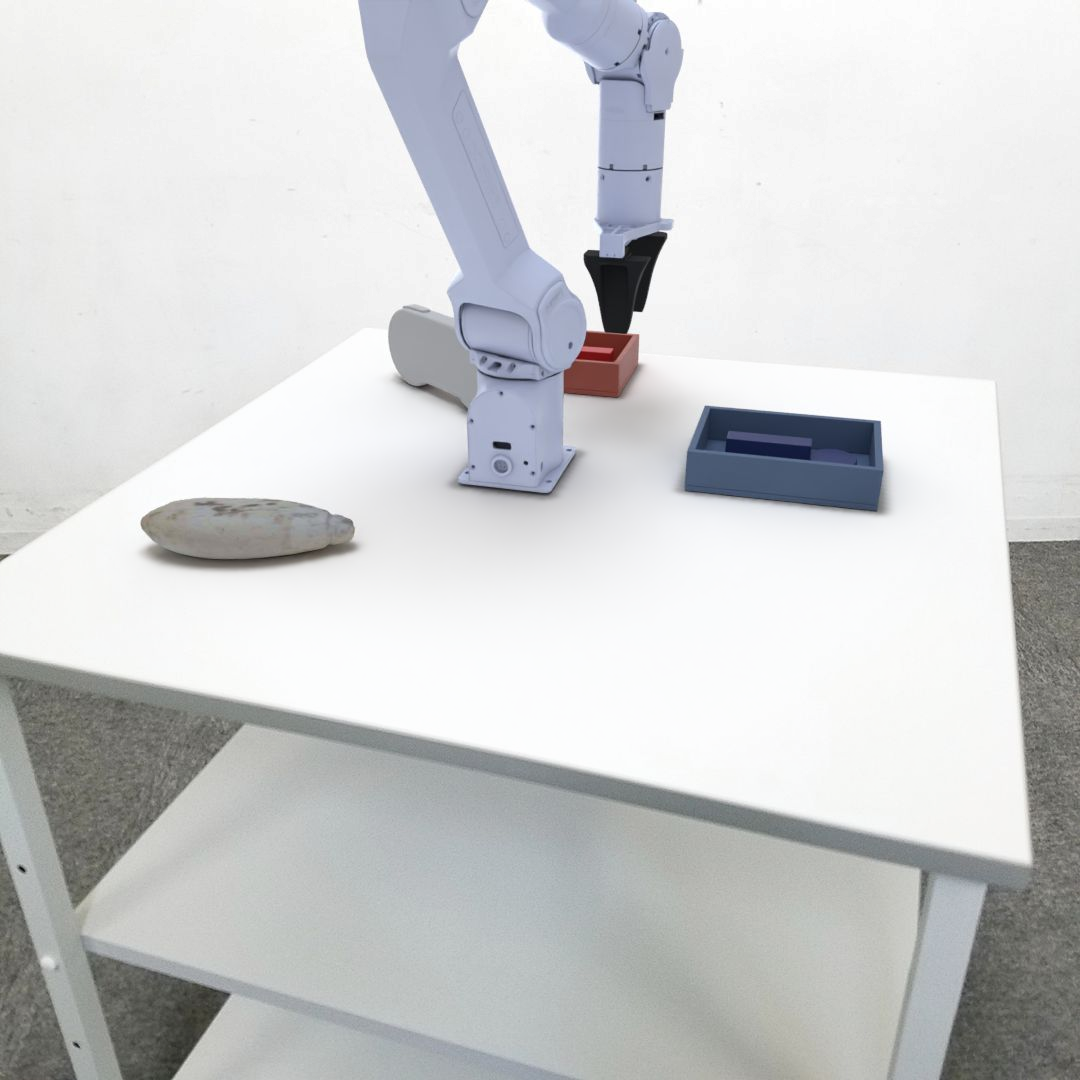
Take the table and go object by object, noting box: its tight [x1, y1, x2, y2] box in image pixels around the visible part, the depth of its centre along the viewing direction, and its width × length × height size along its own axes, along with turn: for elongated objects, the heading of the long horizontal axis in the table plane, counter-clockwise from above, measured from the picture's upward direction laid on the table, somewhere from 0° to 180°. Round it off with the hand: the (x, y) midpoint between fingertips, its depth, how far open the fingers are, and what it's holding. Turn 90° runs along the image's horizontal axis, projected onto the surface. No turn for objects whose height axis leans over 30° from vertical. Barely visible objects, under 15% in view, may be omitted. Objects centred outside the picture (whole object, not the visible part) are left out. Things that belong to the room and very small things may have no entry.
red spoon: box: [576, 346, 614, 362], centre depth 111 cm, size 11×4×3 cm, turn 75°
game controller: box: [387, 303, 477, 410], centre depth 103 cm, size 20×2×8 cm, turn 39°
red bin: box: [564, 329, 640, 398], centre depth 111 cm, size 11×15×4 cm
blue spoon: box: [725, 431, 857, 465], centre depth 87 cm, size 11×4×3 cm, turn 75°
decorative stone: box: [140, 497, 356, 560], centre depth 75 cm, size 6×16×3 cm, turn 93°
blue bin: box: [684, 405, 885, 512], centre depth 87 cm, size 11×15×4 cm
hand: (624, 321), depth 96 cm, fingers open, 7 cm apart
